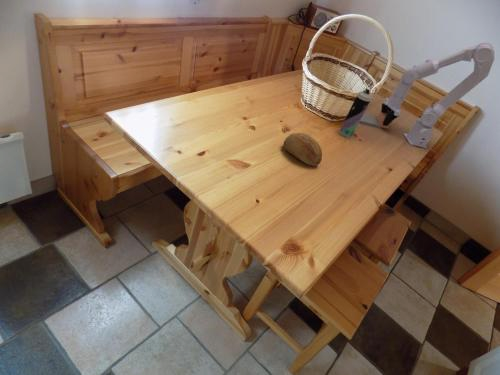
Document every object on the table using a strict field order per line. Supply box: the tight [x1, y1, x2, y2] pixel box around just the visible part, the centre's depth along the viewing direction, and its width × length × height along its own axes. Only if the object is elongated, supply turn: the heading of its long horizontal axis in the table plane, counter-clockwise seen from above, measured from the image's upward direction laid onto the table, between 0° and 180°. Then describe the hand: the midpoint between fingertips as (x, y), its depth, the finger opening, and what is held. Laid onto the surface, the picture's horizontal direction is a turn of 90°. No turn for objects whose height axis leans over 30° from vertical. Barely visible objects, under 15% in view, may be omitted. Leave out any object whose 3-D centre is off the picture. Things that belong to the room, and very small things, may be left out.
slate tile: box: [358, 112, 381, 129], centre depth 149 cm, size 10×10×1 cm
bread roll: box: [283, 132, 323, 167], centre depth 108 cm, size 10×15×8 cm, turn 49°
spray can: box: [339, 87, 372, 139], centre depth 127 cm, size 6×6×20 cm
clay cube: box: [376, 111, 393, 130], centre depth 148 cm, size 5×5×5 cm
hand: (382, 122), depth 149 cm, fingers closed on clay cube, 5 cm apart
